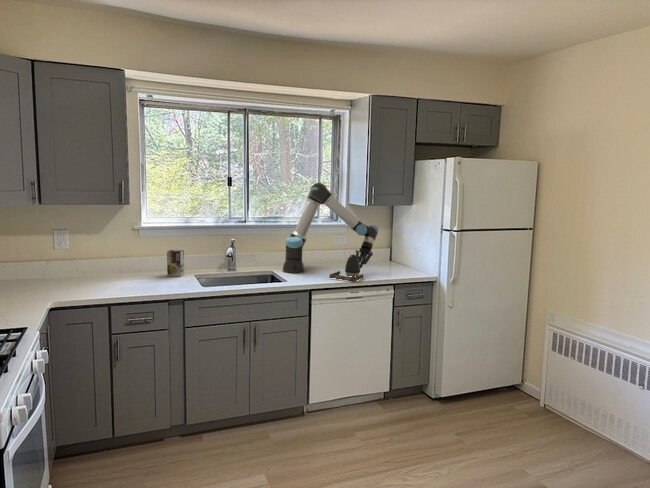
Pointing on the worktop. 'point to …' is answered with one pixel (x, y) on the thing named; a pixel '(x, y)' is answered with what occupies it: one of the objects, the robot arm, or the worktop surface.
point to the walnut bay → (345, 277)
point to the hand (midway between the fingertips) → (357, 271)
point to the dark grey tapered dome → (352, 266)
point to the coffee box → (175, 263)
